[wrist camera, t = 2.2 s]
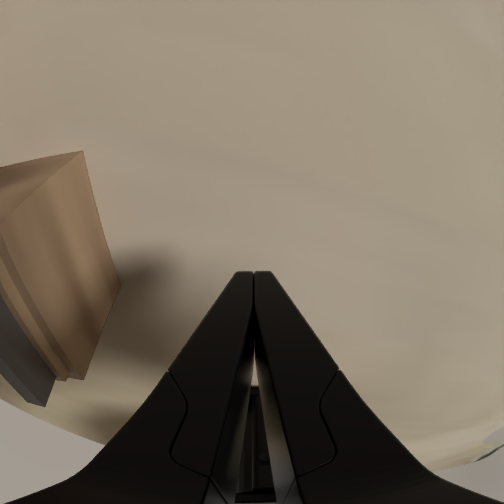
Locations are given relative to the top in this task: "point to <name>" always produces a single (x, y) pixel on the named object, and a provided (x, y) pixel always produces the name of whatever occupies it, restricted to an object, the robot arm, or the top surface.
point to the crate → (51, 274)
